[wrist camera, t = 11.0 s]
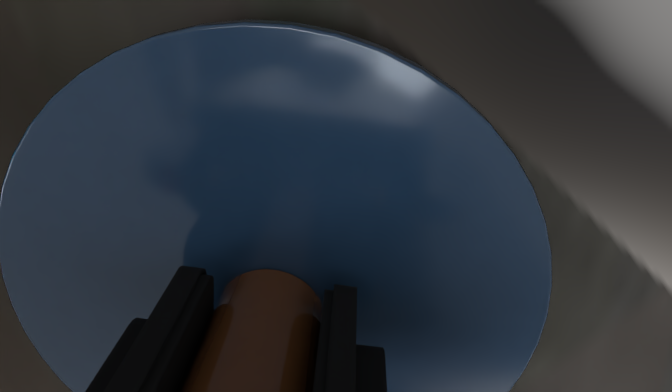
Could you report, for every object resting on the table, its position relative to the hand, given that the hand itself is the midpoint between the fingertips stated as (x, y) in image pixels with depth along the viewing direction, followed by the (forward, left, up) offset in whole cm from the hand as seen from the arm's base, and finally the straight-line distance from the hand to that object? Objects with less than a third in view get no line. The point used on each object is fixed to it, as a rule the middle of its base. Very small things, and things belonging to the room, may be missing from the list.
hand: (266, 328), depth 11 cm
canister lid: (0, 0, -1) cm, 1 cm away
